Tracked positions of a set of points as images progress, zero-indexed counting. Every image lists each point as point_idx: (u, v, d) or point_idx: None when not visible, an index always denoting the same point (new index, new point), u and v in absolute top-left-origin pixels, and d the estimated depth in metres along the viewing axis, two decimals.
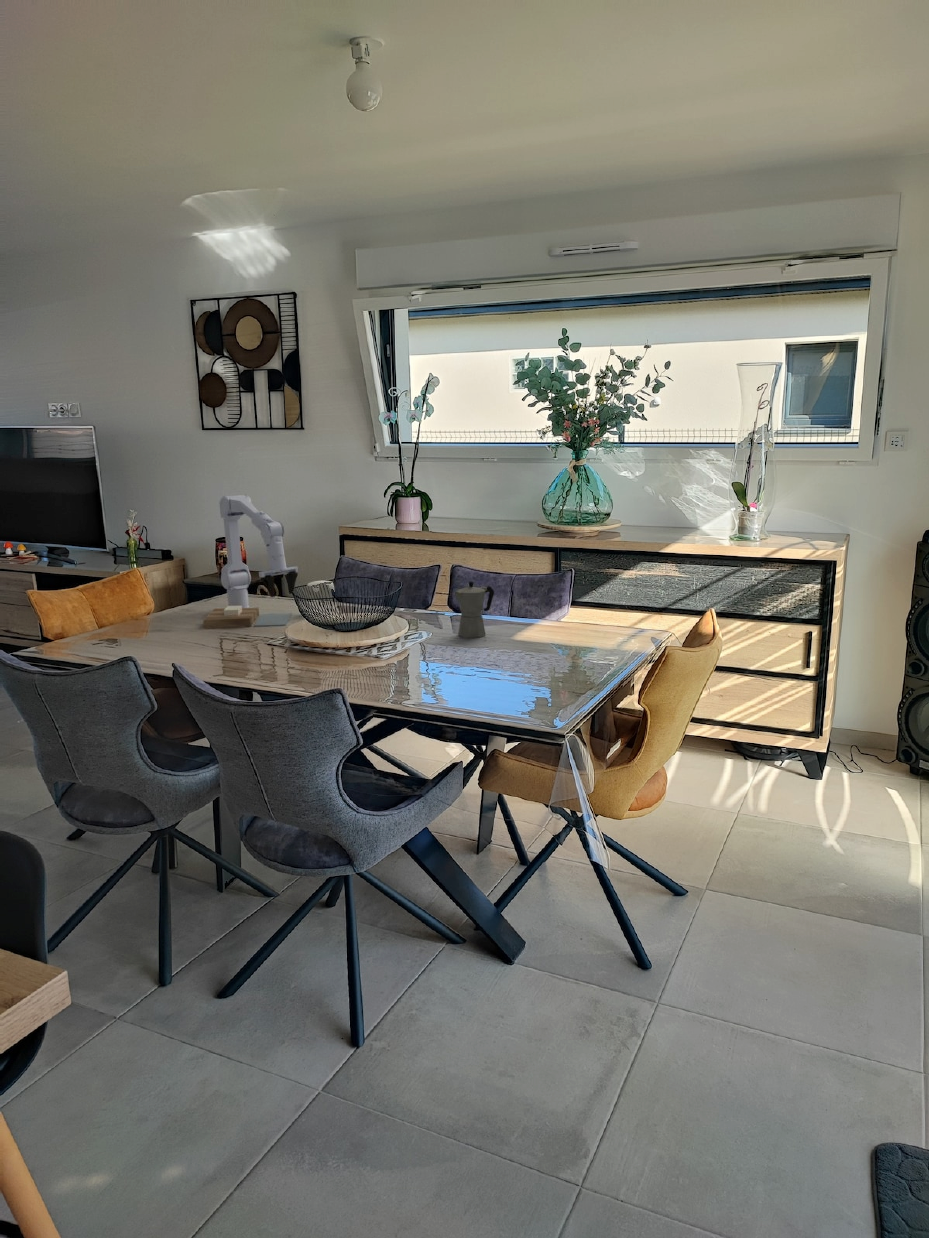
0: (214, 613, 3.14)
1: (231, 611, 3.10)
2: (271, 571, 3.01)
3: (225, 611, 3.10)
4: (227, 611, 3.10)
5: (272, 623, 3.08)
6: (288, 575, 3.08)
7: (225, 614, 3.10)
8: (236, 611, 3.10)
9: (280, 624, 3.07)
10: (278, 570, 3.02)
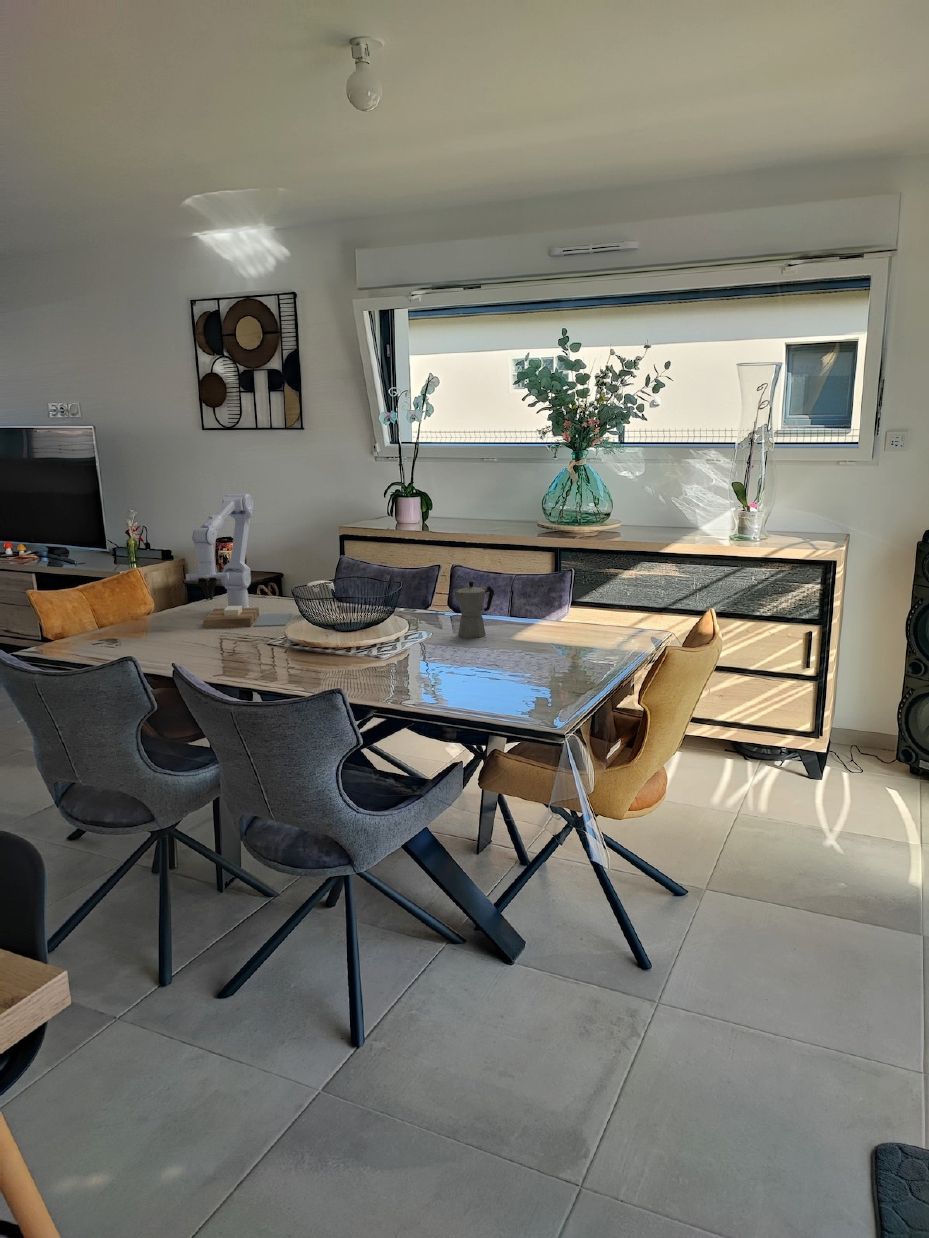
0: (214, 613, 3.14)
1: (231, 611, 3.10)
2: (195, 576, 3.08)
3: (225, 611, 3.10)
4: (227, 611, 3.10)
5: (272, 623, 3.08)
6: None
7: (225, 614, 3.10)
8: (236, 611, 3.10)
9: (280, 624, 3.07)
10: (201, 576, 3.07)
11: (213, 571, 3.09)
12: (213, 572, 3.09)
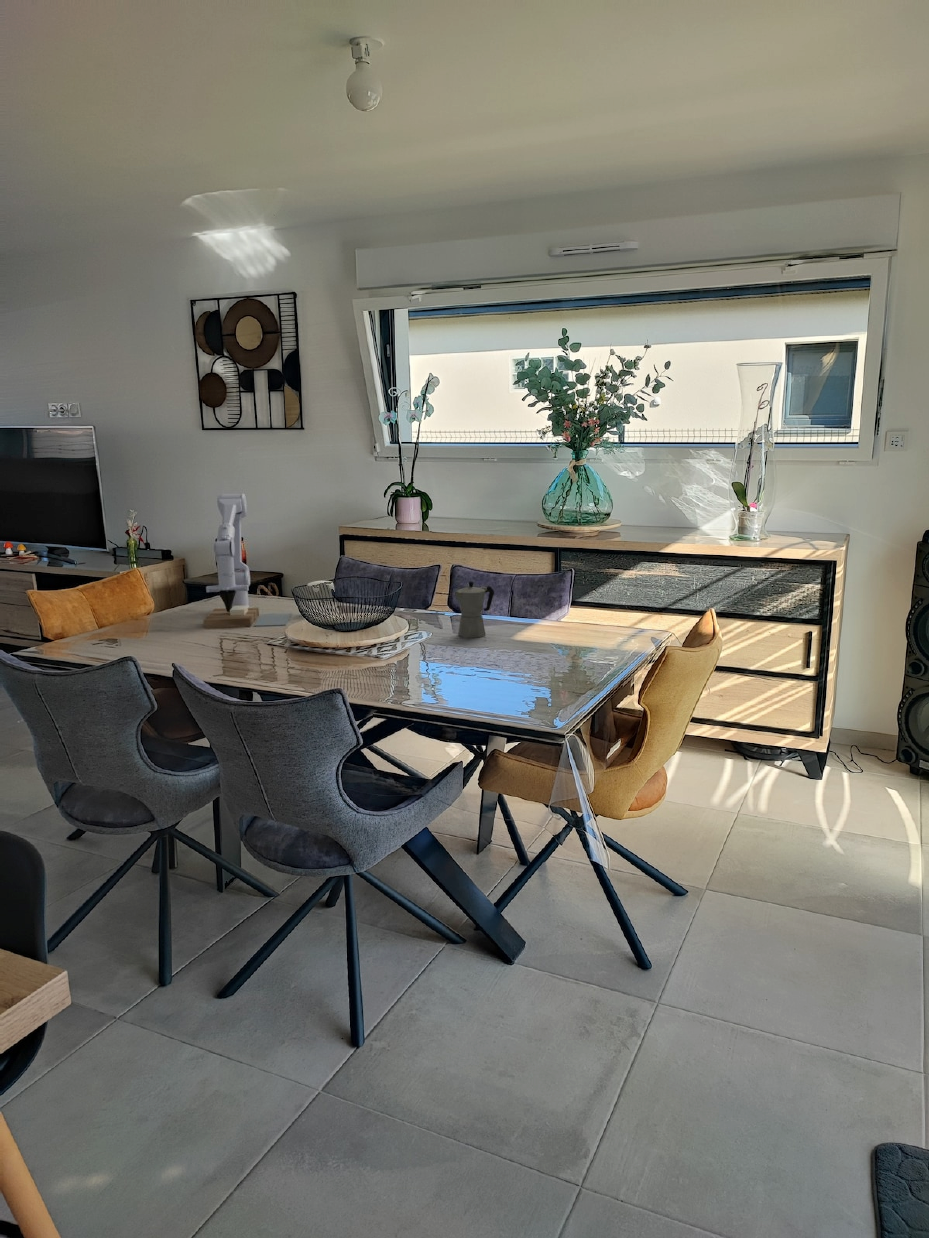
0: (214, 613, 3.14)
1: (237, 611, 3.10)
2: (215, 588, 3.09)
3: (231, 611, 3.10)
4: (233, 611, 3.10)
5: (272, 623, 3.08)
6: None
7: (231, 614, 3.10)
8: (242, 611, 3.10)
9: (280, 624, 3.07)
10: (221, 588, 3.09)
11: (233, 583, 3.10)
12: (233, 584, 3.10)
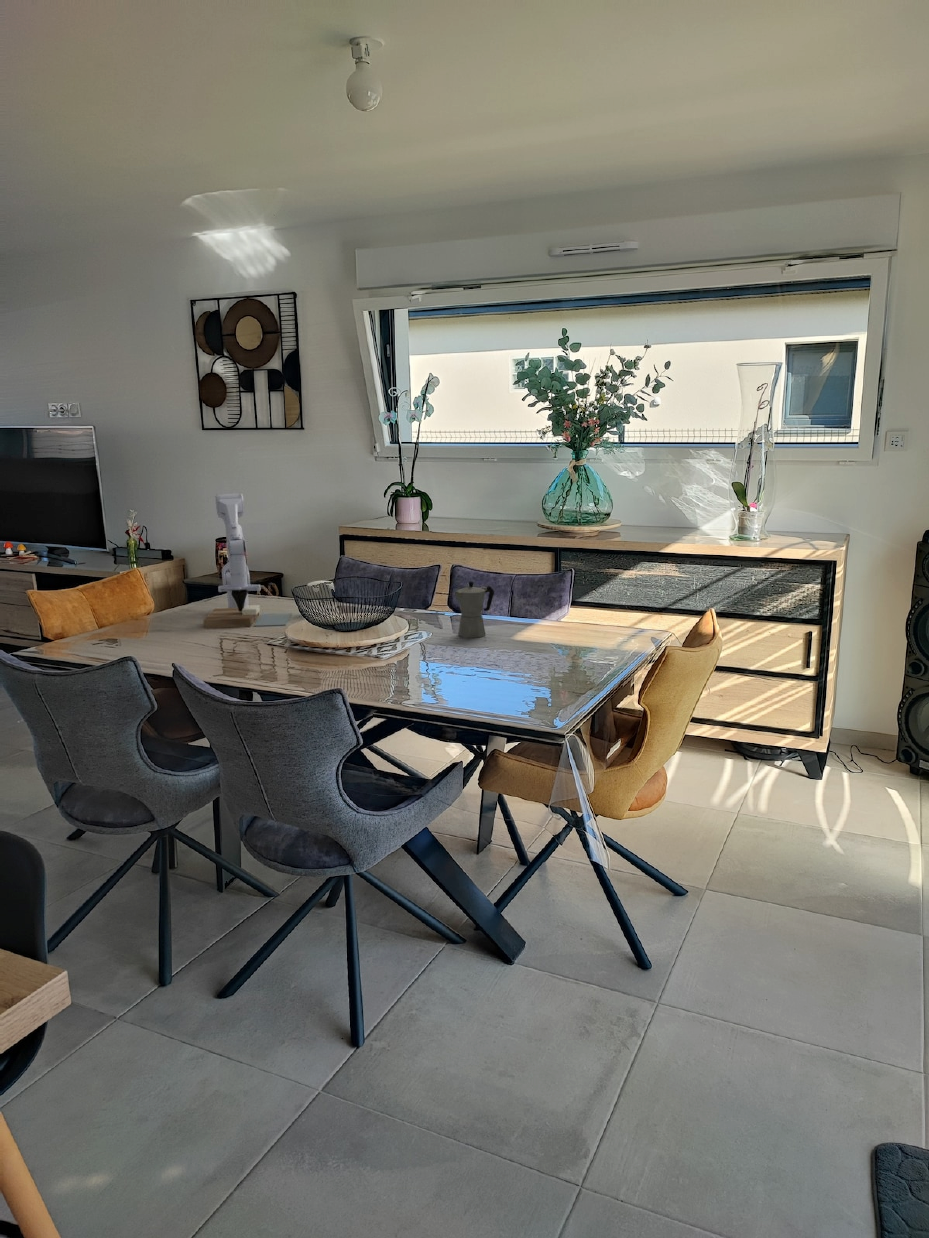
0: (214, 613, 3.14)
1: (249, 610, 3.10)
2: (227, 588, 3.10)
3: (243, 610, 3.10)
4: (245, 610, 3.10)
5: (272, 623, 3.08)
6: None
7: (243, 613, 3.10)
8: (254, 610, 3.10)
9: (280, 624, 3.07)
10: (233, 588, 3.09)
11: (245, 583, 3.10)
12: (245, 584, 3.10)
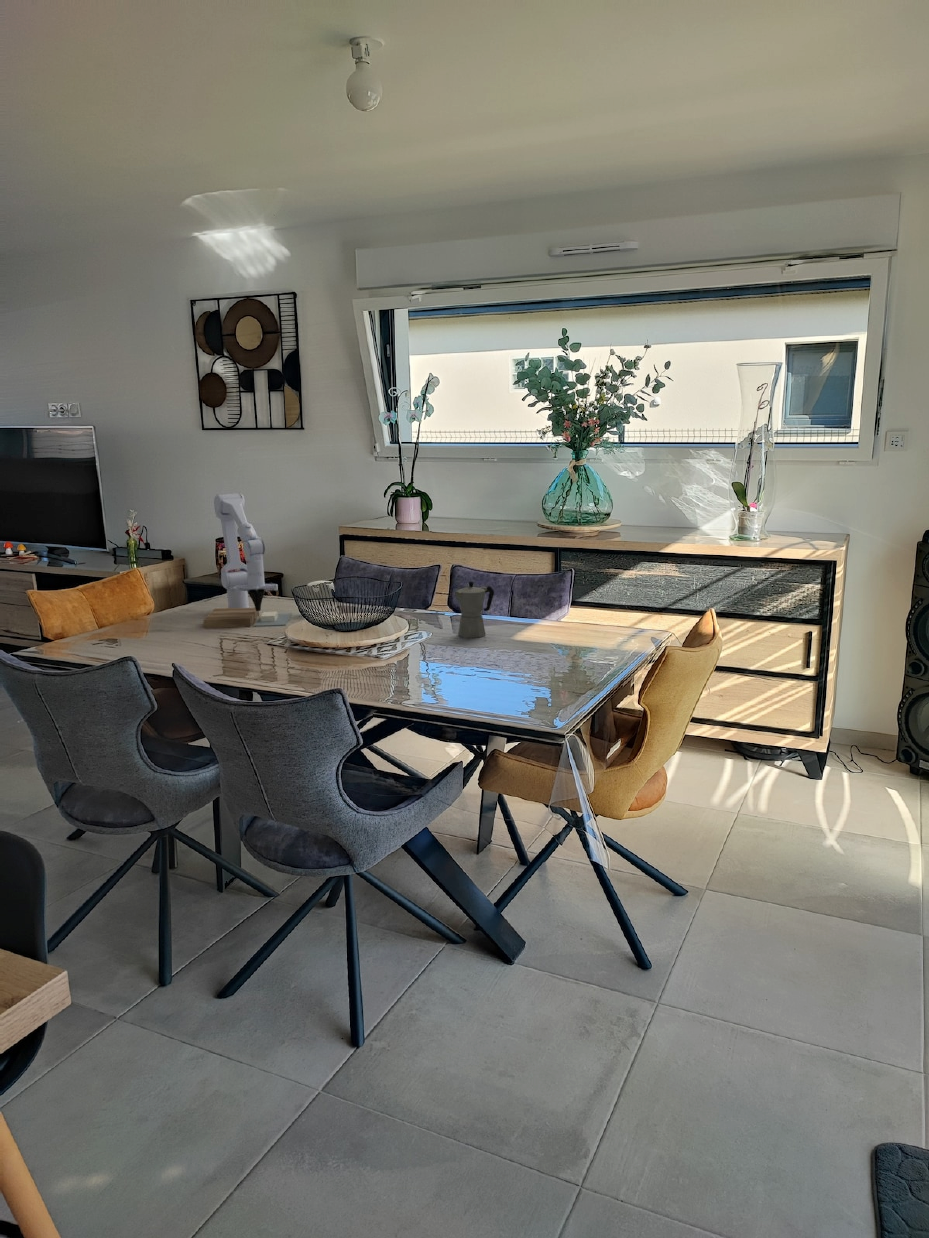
0: (214, 613, 3.14)
1: (267, 620, 3.11)
2: (244, 587, 3.10)
3: (273, 620, 3.12)
4: (271, 620, 3.11)
5: (272, 623, 3.08)
6: None
7: (273, 617, 3.11)
8: (262, 620, 3.11)
9: (280, 624, 3.07)
10: (250, 587, 3.09)
11: (262, 582, 3.11)
12: (262, 583, 3.11)
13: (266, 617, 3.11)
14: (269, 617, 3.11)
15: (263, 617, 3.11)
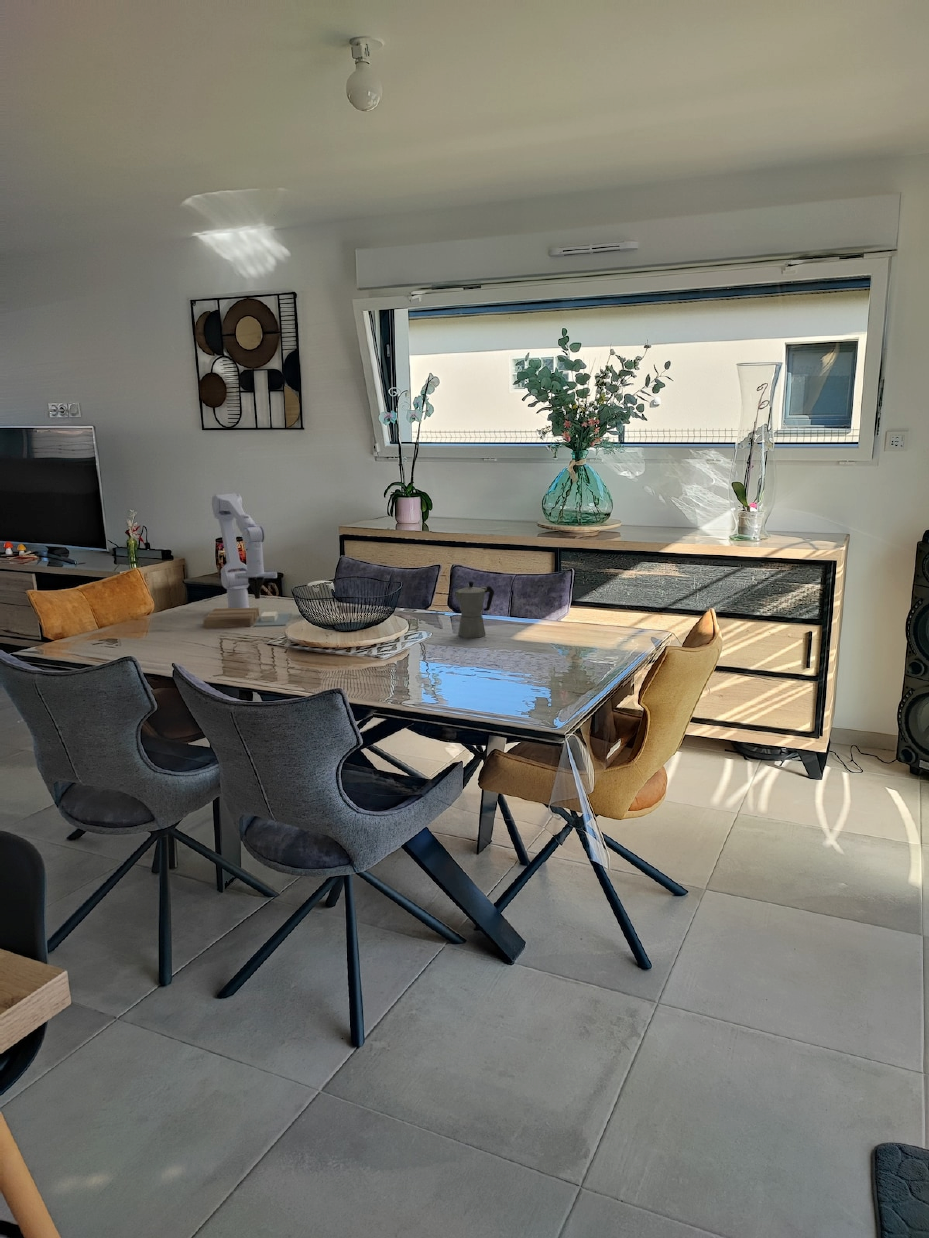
0: (214, 613, 3.14)
1: (267, 620, 3.11)
2: (243, 575, 3.09)
3: (273, 620, 3.12)
4: (271, 620, 3.11)
5: (272, 623, 3.08)
6: None
7: (273, 617, 3.11)
8: (262, 620, 3.11)
9: (280, 624, 3.07)
10: (250, 575, 3.08)
11: (262, 570, 3.10)
12: (262, 571, 3.10)
13: (266, 617, 3.11)
14: (269, 617, 3.11)
15: (263, 617, 3.11)
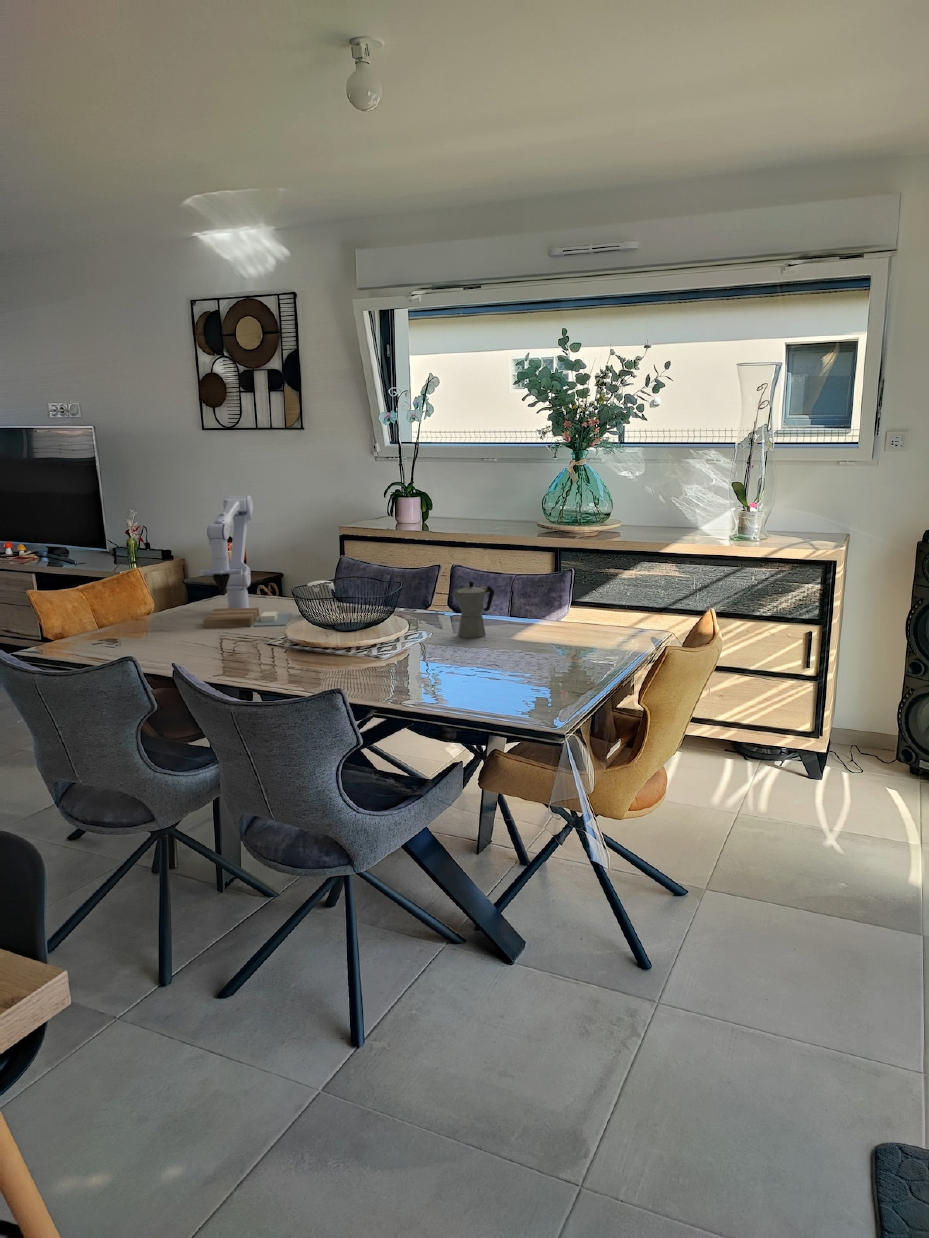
0: (214, 613, 3.14)
1: (267, 620, 3.11)
2: (209, 571, 3.10)
3: (273, 620, 3.12)
4: (271, 620, 3.11)
5: (272, 623, 3.08)
6: None
7: (273, 617, 3.11)
8: (262, 620, 3.11)
9: (280, 624, 3.07)
10: (215, 572, 3.09)
11: (227, 567, 3.11)
12: (227, 568, 3.11)
13: (266, 617, 3.11)
14: (269, 617, 3.11)
15: (263, 617, 3.11)
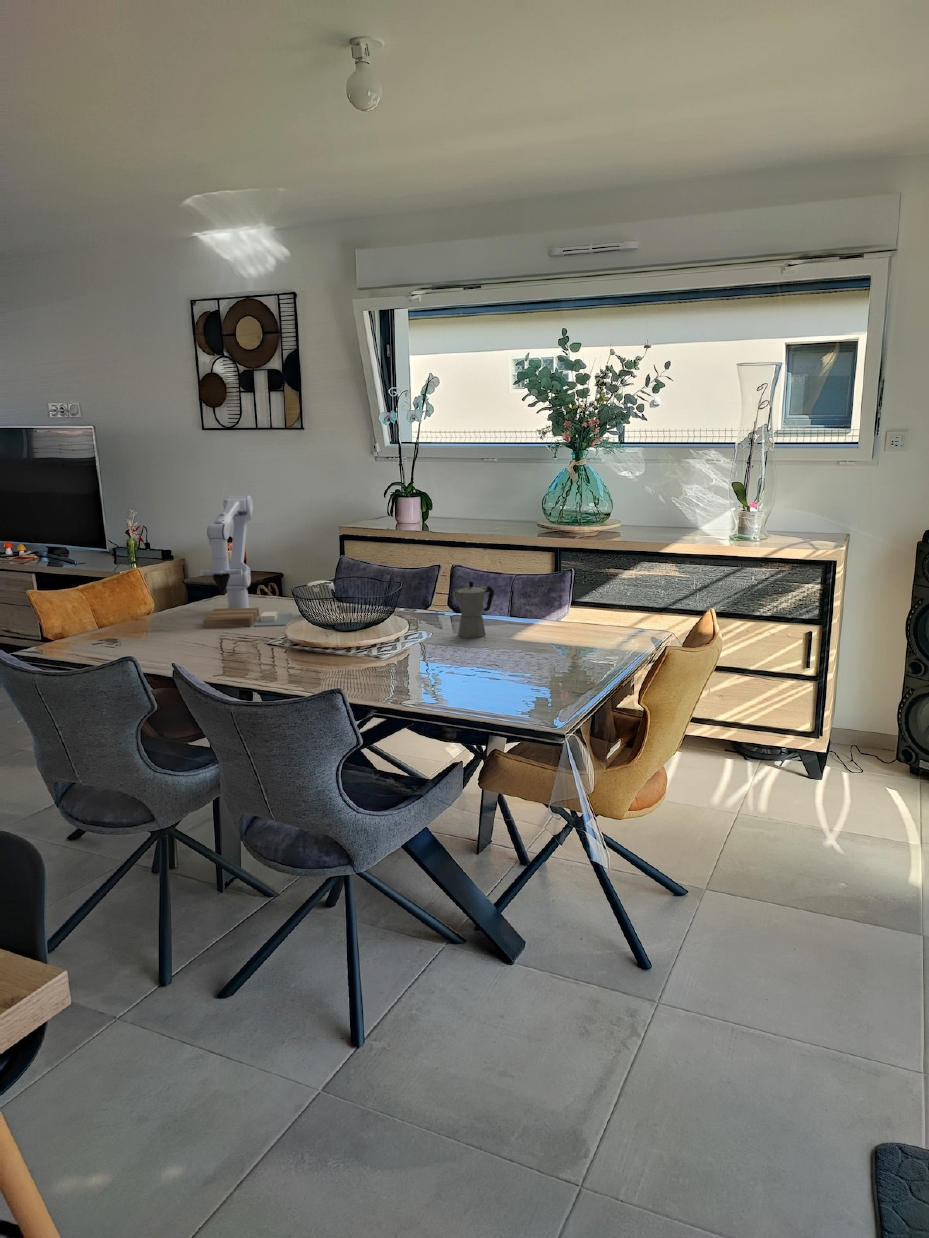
0: (214, 613, 3.14)
1: (267, 620, 3.11)
2: (209, 571, 3.10)
3: (273, 620, 3.12)
4: (271, 620, 3.11)
5: (272, 623, 3.08)
6: None
7: (273, 617, 3.11)
8: (262, 620, 3.11)
9: (280, 624, 3.07)
10: (215, 572, 3.09)
11: (227, 567, 3.11)
12: (227, 568, 3.11)
13: (266, 617, 3.11)
14: (269, 617, 3.11)
15: (263, 617, 3.11)
